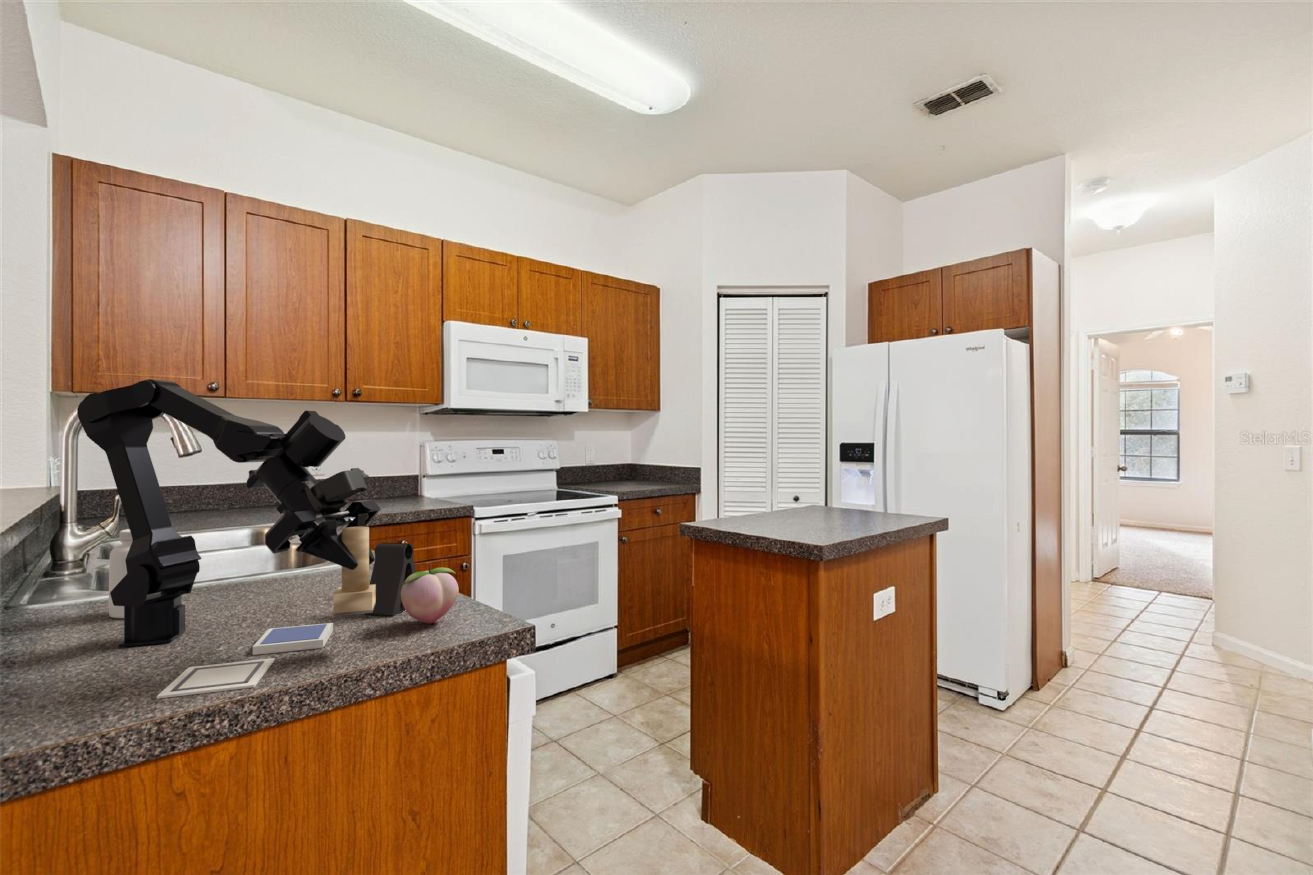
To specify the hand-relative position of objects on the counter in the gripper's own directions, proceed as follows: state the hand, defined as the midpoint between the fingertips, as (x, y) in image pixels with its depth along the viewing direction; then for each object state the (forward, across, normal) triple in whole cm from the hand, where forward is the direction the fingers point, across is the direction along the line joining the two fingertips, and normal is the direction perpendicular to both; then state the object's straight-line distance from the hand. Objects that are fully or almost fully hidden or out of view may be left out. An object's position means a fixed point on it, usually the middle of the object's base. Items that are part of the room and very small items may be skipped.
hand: (364, 565), depth 90 cm
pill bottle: (-28, +12, +46) cm, 55 cm away
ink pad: (0, +2, +18) cm, 18 cm away
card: (0, -12, +17) cm, 21 cm away
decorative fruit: (+11, +14, +7) cm, 19 cm away
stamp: (+4, 0, +6) cm, 7 cm away
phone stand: (+3, +21, +15) cm, 26 cm away
